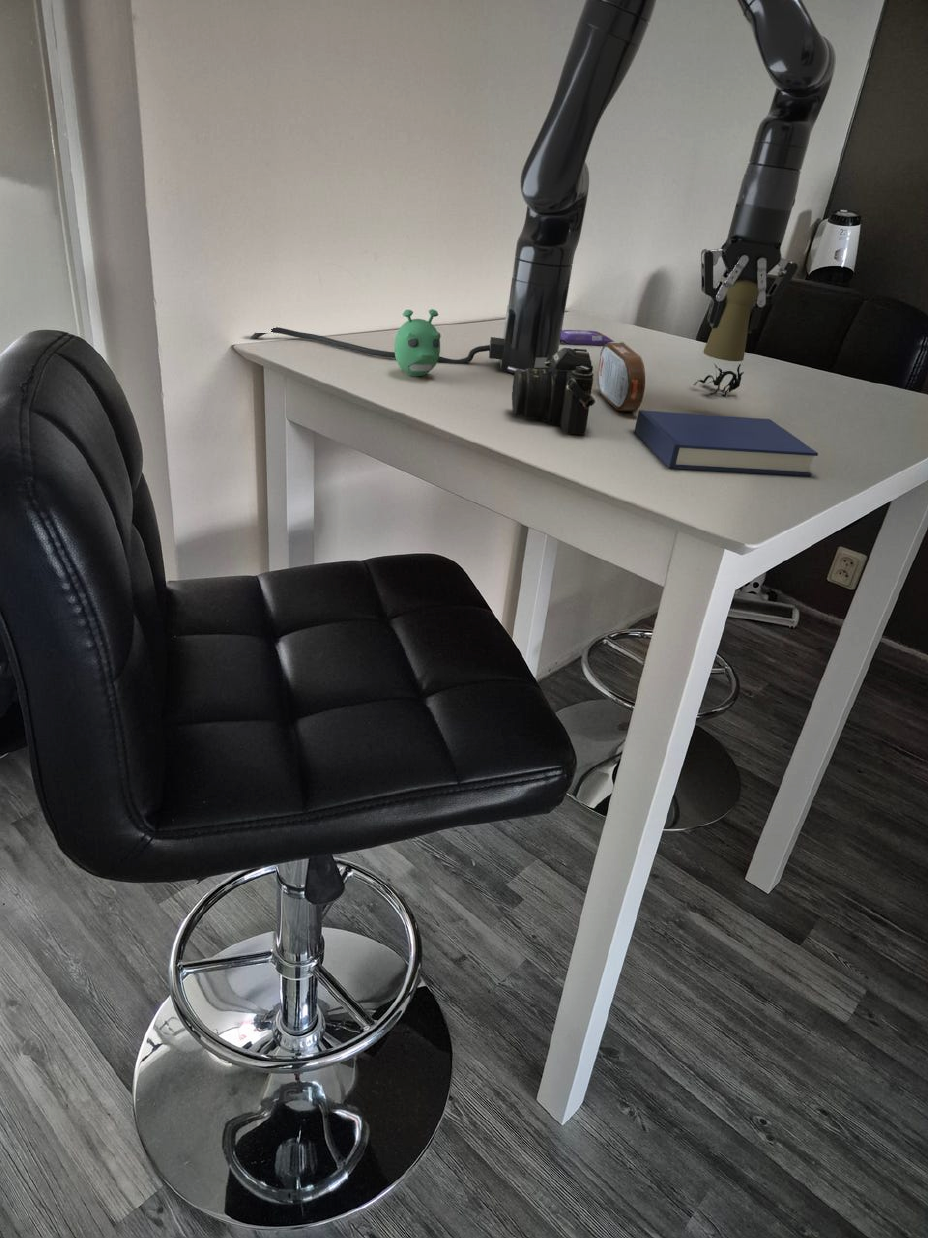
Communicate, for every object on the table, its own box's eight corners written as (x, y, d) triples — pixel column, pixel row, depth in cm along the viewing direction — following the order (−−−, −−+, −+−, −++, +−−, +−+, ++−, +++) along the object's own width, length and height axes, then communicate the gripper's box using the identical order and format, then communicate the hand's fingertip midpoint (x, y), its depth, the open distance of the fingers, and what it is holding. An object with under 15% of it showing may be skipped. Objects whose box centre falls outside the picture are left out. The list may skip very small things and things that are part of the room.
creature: (694, 401, 146) (744, 399, 145) (694, 369, 144) (745, 365, 142) (692, 390, 153) (740, 387, 151) (692, 358, 151) (741, 355, 149)
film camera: (486, 398, 130) (495, 329, 125) (560, 399, 134) (572, 332, 129) (536, 440, 116) (548, 364, 111) (617, 439, 120) (633, 366, 115)
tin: (640, 419, 130) (652, 362, 126) (620, 418, 129) (632, 360, 125) (609, 389, 143) (619, 336, 138) (590, 388, 142) (600, 335, 138)
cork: (719, 360, 128) (741, 282, 123) (695, 349, 133) (714, 273, 128) (752, 361, 131) (774, 284, 125) (726, 350, 136) (747, 275, 130)
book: (668, 468, 112) (674, 444, 110) (633, 432, 124) (638, 409, 122) (810, 476, 116) (818, 453, 114) (763, 440, 128) (770, 418, 126)
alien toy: (403, 383, 132) (408, 314, 127) (386, 369, 138) (390, 302, 133) (446, 383, 135) (453, 315, 130) (427, 369, 141) (433, 304, 136)
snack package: (562, 334, 166) (551, 328, 170) (560, 344, 167) (550, 338, 171) (616, 336, 170) (604, 330, 174) (614, 346, 171) (602, 340, 175)
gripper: (806, 207, 125) (770, 330, 134) (708, 193, 124) (678, 317, 133) (824, 213, 119) (784, 341, 127) (720, 198, 118) (688, 328, 126)
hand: (730, 328), depth 130 cm, fingers closed on cork, 4 cm apart
